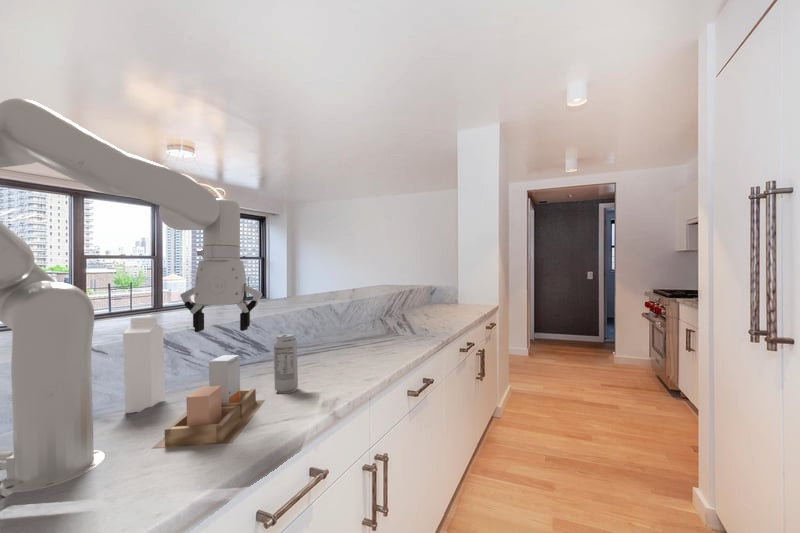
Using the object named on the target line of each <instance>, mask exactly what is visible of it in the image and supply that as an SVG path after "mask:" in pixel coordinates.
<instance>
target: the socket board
mask: <svg viewBox="0 0 800 533" xmlns="http://www.w3.org/2000/svg"><path fill="white" fill-rule="evenodd" d="M256 393H257V392H256V388H246V389H245V388H244V389H240V401H239V403H223V404H221V406H222V420H221V422H220V423H219V424H210V425H194V426H187V411H186V412H185V413H183V414H182V415H181V416H180V417H178V418H177V419H176V420H174V421H173V422H172V423H171V424H169V425H168V426H167V427H166V428H165V429H164V437H163V438H162V439H161V440H160V441H159V442H157V443H156V444H155V445H154V446H152V449H163V448H165V449H166V448H177V447H181V448H182V447H193V446H207V445H223V444H233V443H234V441H235V440H236V439H237V438H238V436H239V435H240V433H241V432H242V431H243V430H244V429H245V427H246V426H247V425H248V423H249V422H250V421H251V419H252V418H253V417H254V415H255V414H256V413H257V411H258V410H259V408H261V406H262V405H263V403H264V402H265V401H266V399H262V400H261V399H260V400H259V399H258V400H257V399H256V398H257V394H256Z"/></svg>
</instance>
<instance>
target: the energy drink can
mask: <svg viewBox="0 0 800 533" xmlns="http://www.w3.org/2000/svg"><path fill="white" fill-rule="evenodd" d="M297 342H298V341H297V339H296V337H295V334H294V333H280V334H276V335H275V339H274V341H273V370H274V371H273V374H274V375H273V377H274V379H273V380H274V390H275V391H276V393H277V394H281V395H284V394H291V393H293V392H294V393H295V391H296V390H297V388H298V387H299V377H298V376H299V374H298V372H299V371H298V344H297Z"/></svg>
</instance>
